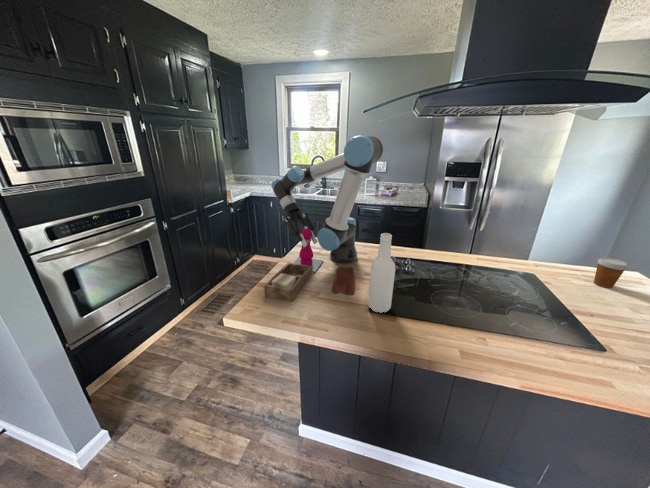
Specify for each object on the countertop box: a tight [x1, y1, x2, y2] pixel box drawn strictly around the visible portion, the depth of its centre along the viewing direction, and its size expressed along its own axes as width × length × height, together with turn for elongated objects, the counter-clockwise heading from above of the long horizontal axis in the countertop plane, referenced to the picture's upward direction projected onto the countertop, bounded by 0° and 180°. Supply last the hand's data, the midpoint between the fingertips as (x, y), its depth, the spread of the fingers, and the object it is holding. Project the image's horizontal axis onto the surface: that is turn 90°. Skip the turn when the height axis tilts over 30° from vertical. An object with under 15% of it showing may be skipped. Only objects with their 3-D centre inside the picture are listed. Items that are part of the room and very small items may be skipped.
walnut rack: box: [263, 261, 313, 302], centre depth 117 cm, size 12×24×5 cm, turn 163°
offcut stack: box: [272, 274, 296, 289], centre depth 112 cm, size 9×9×6 cm
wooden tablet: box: [331, 266, 356, 296], centre depth 124 cm, size 27×10×2 cm, turn 173°
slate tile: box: [293, 256, 324, 274], centre depth 137 cm, size 14×14×1 cm
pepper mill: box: [298, 226, 314, 265], centre depth 133 cm, size 7×7×20 cm
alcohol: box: [367, 232, 396, 314], centre depth 98 cm, size 9×9×30 cm
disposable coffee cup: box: [593, 257, 629, 289], centre depth 119 cm, size 10×10×12 cm
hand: (310, 244), depth 130 cm, fingers closed on pepper mill, 6 cm apart
